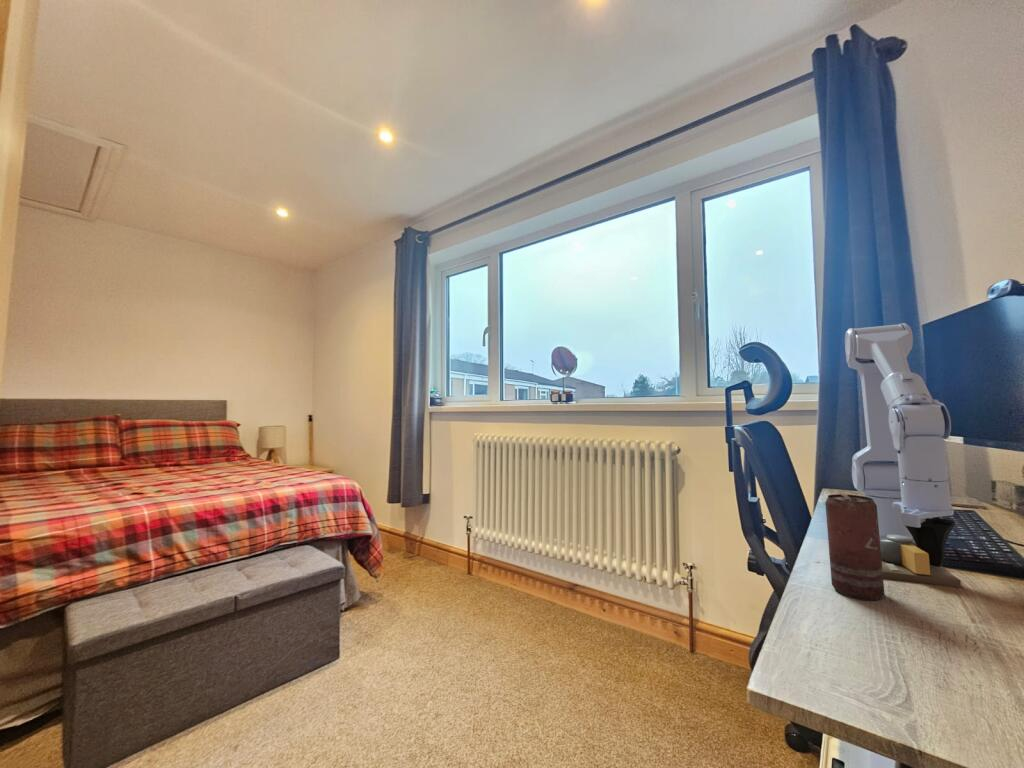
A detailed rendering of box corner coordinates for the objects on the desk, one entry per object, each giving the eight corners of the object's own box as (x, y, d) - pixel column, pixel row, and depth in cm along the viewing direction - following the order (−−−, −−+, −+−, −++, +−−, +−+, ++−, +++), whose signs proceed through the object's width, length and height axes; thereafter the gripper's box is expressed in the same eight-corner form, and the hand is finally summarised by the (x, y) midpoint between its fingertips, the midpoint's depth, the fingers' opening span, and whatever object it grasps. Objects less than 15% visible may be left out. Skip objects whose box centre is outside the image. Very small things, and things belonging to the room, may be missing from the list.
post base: (854, 551, 81) (854, 544, 81) (924, 558, 76) (924, 551, 76) (875, 577, 68) (875, 569, 69) (961, 587, 64) (960, 579, 64)
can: (863, 583, 66) (855, 492, 67) (896, 601, 60) (887, 500, 61) (822, 583, 67) (815, 492, 68) (849, 601, 60) (841, 501, 61)
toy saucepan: (871, 552, 76) (869, 531, 77) (914, 555, 74) (912, 533, 74) (898, 572, 67) (896, 548, 67) (948, 576, 65) (945, 551, 65)
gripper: (907, 471, 75) (915, 548, 75) (873, 481, 68) (881, 567, 67) (964, 475, 69) (973, 560, 69) (933, 487, 62) (942, 582, 61)
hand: (931, 564), depth 68 cm, fingers closed, pressing on toy saucepan
